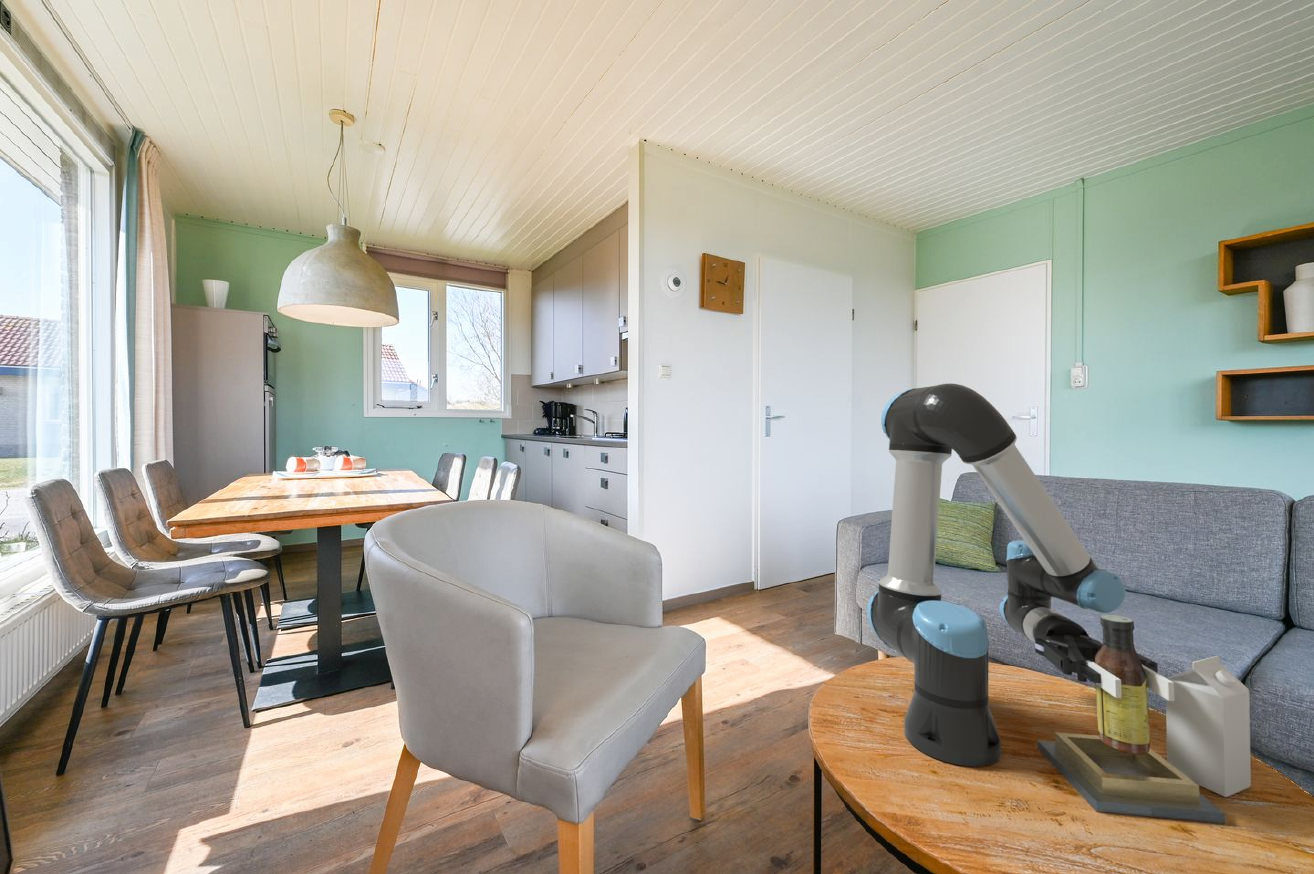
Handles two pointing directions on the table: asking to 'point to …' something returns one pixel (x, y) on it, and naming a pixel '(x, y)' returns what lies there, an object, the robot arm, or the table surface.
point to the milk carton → (1210, 727)
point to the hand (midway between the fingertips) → (1144, 690)
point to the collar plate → (1127, 780)
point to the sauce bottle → (1122, 690)
